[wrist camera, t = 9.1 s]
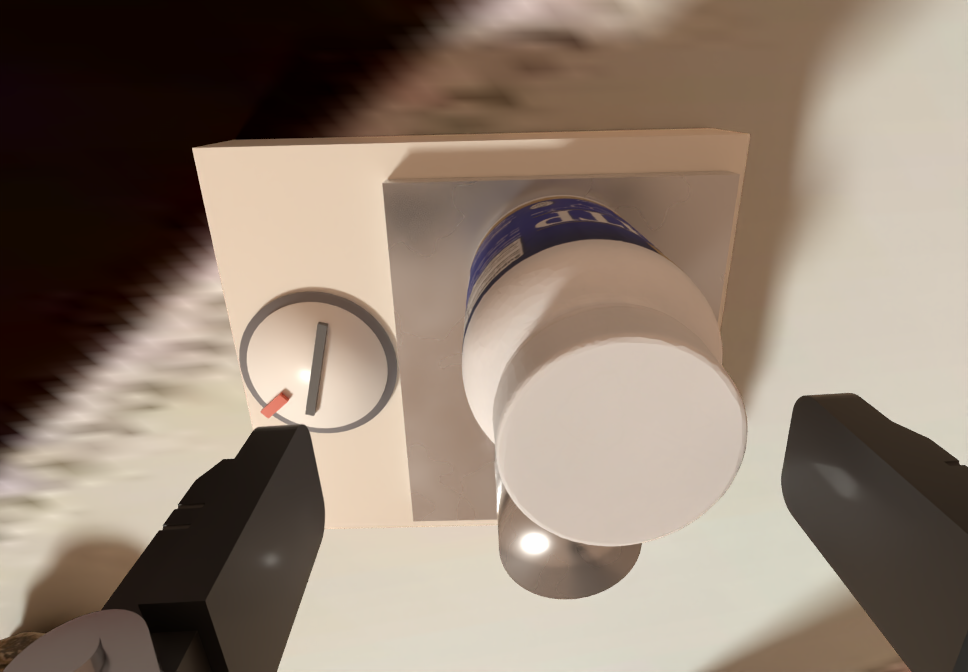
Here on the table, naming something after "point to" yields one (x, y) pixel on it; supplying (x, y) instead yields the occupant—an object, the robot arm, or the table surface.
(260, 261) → the scale housing
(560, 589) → the cylinder
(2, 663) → the sculpture
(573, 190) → the scale pan
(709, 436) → the pill bottle
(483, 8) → the table surface
